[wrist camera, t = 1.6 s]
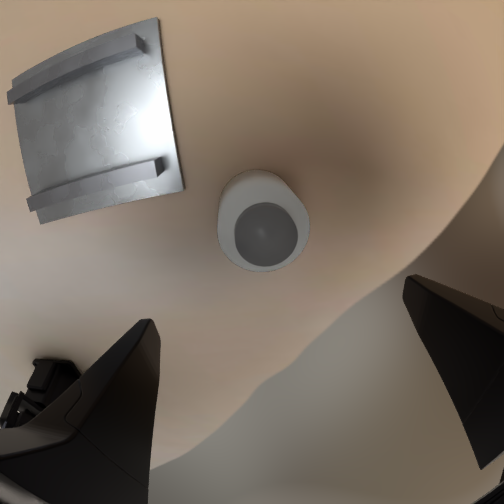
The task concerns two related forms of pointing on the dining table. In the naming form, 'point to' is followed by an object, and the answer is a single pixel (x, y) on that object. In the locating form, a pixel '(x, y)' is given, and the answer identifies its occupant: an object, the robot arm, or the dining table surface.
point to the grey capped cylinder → (261, 222)
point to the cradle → (97, 124)
